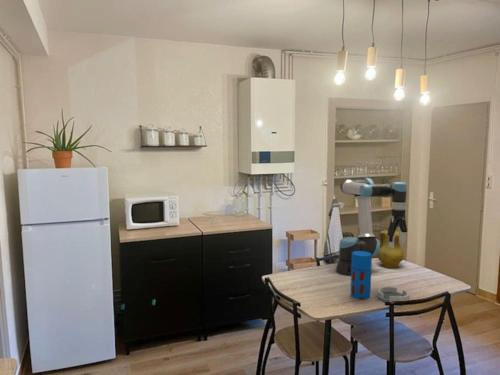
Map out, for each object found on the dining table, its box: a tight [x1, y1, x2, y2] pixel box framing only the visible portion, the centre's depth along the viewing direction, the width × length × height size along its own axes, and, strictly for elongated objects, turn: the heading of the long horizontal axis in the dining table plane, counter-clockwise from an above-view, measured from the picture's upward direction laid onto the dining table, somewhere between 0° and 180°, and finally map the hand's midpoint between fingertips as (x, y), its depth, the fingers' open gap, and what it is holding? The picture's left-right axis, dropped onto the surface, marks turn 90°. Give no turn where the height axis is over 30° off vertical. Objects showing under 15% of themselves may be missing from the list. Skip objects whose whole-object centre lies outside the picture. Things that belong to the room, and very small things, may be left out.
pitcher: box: [377, 230, 405, 269], centre depth 277 cm, size 17×19×25 cm
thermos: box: [350, 251, 373, 301], centre depth 220 cm, size 11×11×25 cm
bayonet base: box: [376, 285, 410, 303], centre depth 217 cm, size 17×17×4 cm
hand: (396, 245), depth 225 cm, fingers open, 13 cm apart
